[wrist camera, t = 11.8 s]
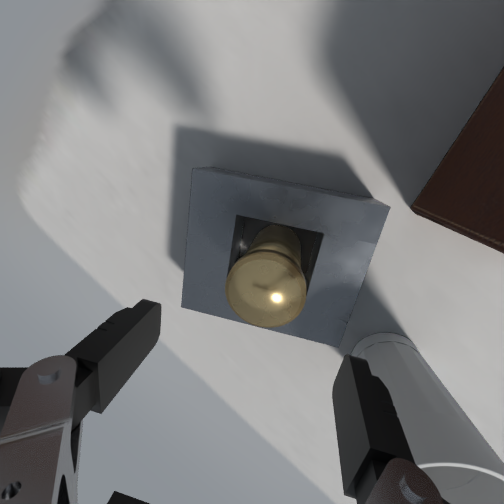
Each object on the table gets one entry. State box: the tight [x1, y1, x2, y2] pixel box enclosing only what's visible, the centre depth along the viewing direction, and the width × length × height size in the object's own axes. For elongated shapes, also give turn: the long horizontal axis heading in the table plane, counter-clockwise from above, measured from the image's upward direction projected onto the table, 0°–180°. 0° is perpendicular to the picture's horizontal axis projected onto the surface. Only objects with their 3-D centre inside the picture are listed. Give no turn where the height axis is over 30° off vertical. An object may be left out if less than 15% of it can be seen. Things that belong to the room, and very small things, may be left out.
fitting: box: [225, 225, 306, 328], centre depth 20 cm, size 5×5×9 cm
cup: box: [351, 333, 504, 504], centre depth 20 cm, size 8×8×12 cm
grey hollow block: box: [181, 167, 390, 347], centre depth 22 cm, size 12×14×4 cm
